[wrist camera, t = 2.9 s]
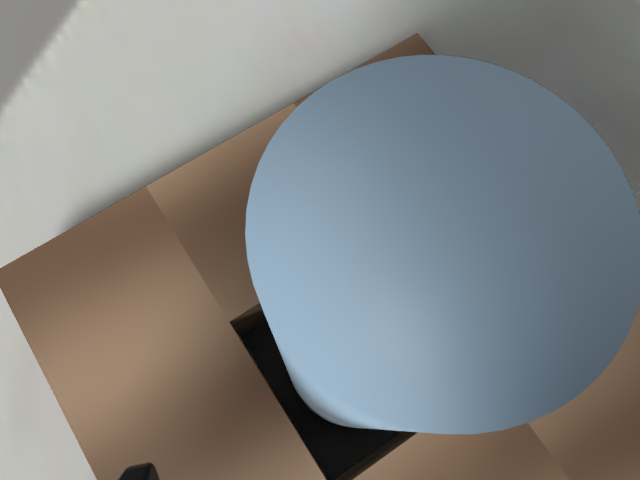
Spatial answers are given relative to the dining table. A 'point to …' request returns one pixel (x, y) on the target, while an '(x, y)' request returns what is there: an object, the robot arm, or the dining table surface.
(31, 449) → the dining table surface
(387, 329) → the peg
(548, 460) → the pocket block
